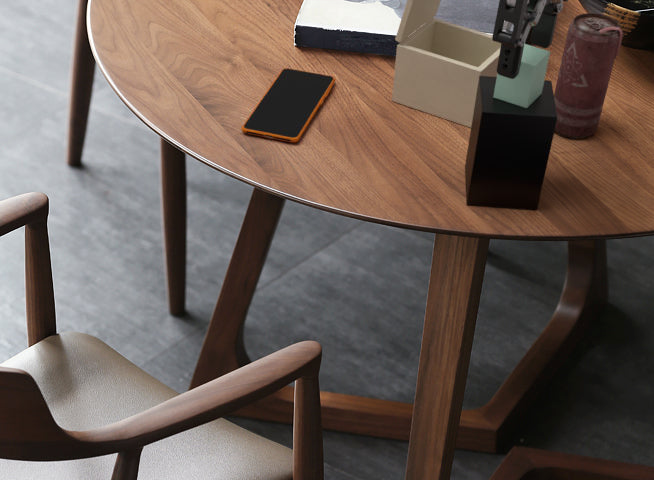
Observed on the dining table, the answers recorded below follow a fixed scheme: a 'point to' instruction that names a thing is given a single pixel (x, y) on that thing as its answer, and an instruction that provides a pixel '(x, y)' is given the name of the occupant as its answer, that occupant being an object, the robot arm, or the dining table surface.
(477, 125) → the stand
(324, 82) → the smartphone
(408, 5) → the lid
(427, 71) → the beige box
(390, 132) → the dining table surface
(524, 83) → the mint green block
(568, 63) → the can
